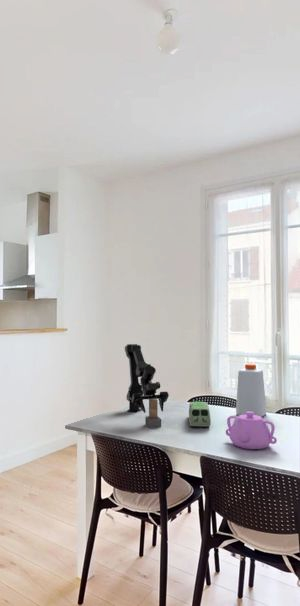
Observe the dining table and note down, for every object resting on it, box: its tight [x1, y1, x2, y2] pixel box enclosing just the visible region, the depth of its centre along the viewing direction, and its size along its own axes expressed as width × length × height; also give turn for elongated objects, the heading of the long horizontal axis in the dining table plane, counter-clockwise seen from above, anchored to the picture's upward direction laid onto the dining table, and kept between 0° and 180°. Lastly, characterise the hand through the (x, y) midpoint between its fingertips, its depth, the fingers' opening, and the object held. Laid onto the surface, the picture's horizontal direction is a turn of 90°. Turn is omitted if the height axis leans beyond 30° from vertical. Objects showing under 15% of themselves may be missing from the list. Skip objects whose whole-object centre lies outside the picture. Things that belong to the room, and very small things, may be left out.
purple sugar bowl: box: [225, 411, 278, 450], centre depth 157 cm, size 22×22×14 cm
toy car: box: [188, 401, 212, 428], centre depth 195 cm, size 11×25×10 cm, turn 175°
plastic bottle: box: [235, 363, 267, 418], centre depth 213 cm, size 15×15×28 cm
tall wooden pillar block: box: [144, 399, 162, 429], centre depth 189 cm, size 7×6×13 cm
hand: (153, 411), depth 188 cm, fingers open, 9 cm apart
